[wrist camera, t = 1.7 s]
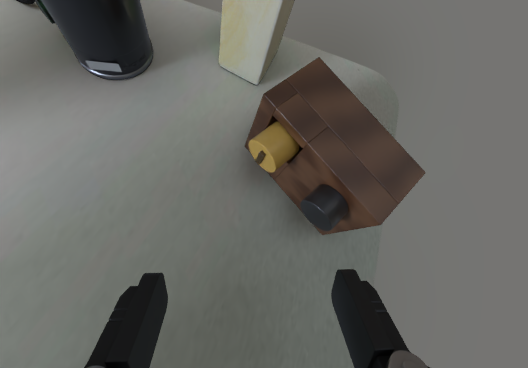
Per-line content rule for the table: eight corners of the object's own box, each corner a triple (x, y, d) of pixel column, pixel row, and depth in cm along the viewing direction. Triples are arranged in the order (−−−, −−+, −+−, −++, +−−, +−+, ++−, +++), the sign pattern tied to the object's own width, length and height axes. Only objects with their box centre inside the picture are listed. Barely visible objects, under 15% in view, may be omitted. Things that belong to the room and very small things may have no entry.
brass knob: (243, 151, 27) (249, 135, 24) (268, 132, 29) (278, 114, 25) (267, 179, 27) (277, 167, 23) (291, 159, 28) (305, 144, 25)
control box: (229, 157, 34) (241, 108, 23) (284, 116, 37) (319, 56, 26) (308, 249, 33) (362, 246, 22) (357, 198, 36) (426, 172, 25)
